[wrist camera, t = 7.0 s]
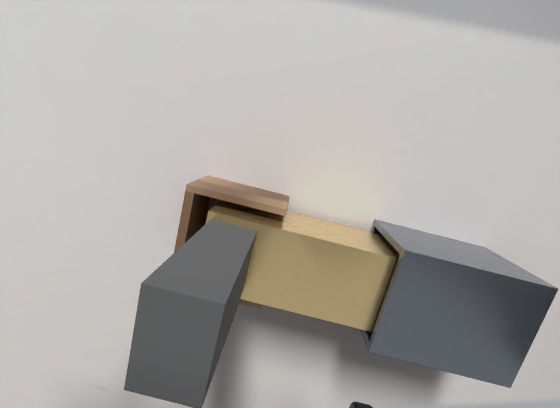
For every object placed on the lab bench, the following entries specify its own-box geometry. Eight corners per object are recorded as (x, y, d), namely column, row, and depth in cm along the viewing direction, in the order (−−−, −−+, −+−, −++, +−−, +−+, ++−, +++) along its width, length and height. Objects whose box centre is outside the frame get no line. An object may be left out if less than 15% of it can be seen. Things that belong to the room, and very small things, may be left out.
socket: (289, 196, 17) (287, 209, 13) (268, 277, 18) (261, 308, 15) (208, 175, 17) (186, 184, 14) (192, 258, 18) (168, 285, 15)
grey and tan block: (389, 236, 16) (515, 365, 7) (369, 296, 17) (458, 484, 8) (227, 195, 16) (134, 269, 7) (214, 257, 17) (114, 397, 8)
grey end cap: (485, 247, 17) (558, 288, 12) (454, 322, 18) (510, 388, 13) (374, 219, 17) (405, 250, 12) (349, 296, 18) (369, 352, 13)
